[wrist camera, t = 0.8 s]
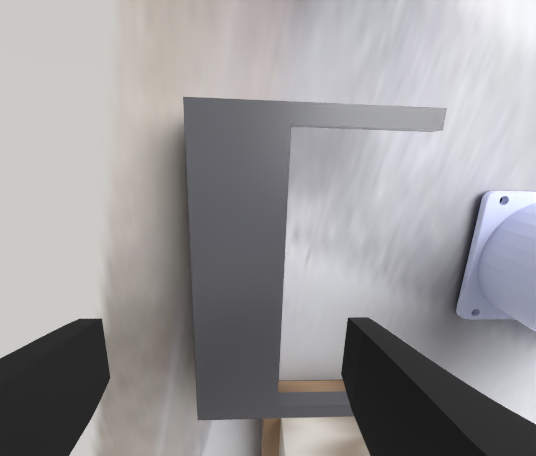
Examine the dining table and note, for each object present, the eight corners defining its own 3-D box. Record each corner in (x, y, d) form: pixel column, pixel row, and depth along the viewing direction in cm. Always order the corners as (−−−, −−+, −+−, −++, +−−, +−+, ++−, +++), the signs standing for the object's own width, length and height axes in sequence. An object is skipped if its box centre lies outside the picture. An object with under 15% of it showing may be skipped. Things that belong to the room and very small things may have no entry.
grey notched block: (395, 120, 14) (446, 108, 11) (361, 360, 18) (390, 415, 14) (202, 112, 14) (183, 96, 10) (209, 362, 18) (197, 420, 14)
